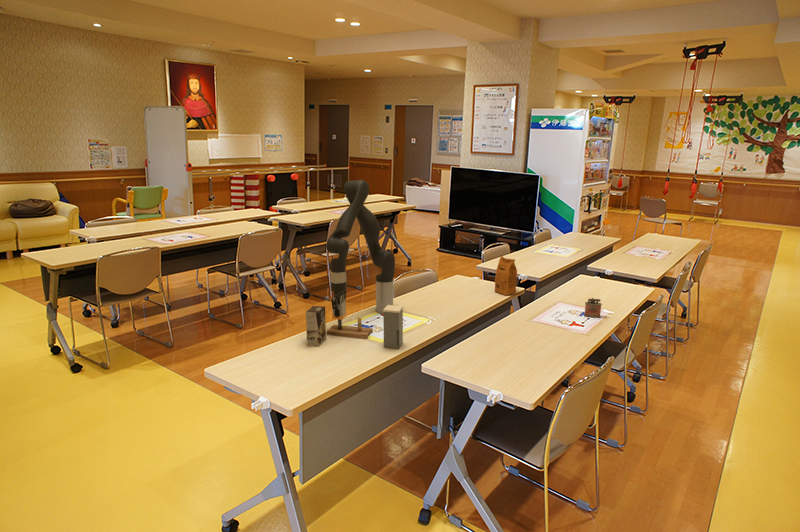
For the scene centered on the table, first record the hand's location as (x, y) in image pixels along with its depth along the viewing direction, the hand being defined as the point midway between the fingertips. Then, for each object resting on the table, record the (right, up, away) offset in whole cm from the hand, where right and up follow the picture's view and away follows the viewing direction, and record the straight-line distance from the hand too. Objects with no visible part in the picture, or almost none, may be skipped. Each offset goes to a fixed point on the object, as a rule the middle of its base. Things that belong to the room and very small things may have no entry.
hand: (339, 314), depth 248 cm
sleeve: (0, -1, 0) cm, 2 cm away
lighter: (+130, -4, +24) cm, 132 cm away
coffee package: (+92, +7, +66) cm, 114 cm away
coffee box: (-9, -12, -9) cm, 18 cm away
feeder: (+26, -13, -13) cm, 32 cm away
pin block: (+5, -9, +1) cm, 11 cm away
